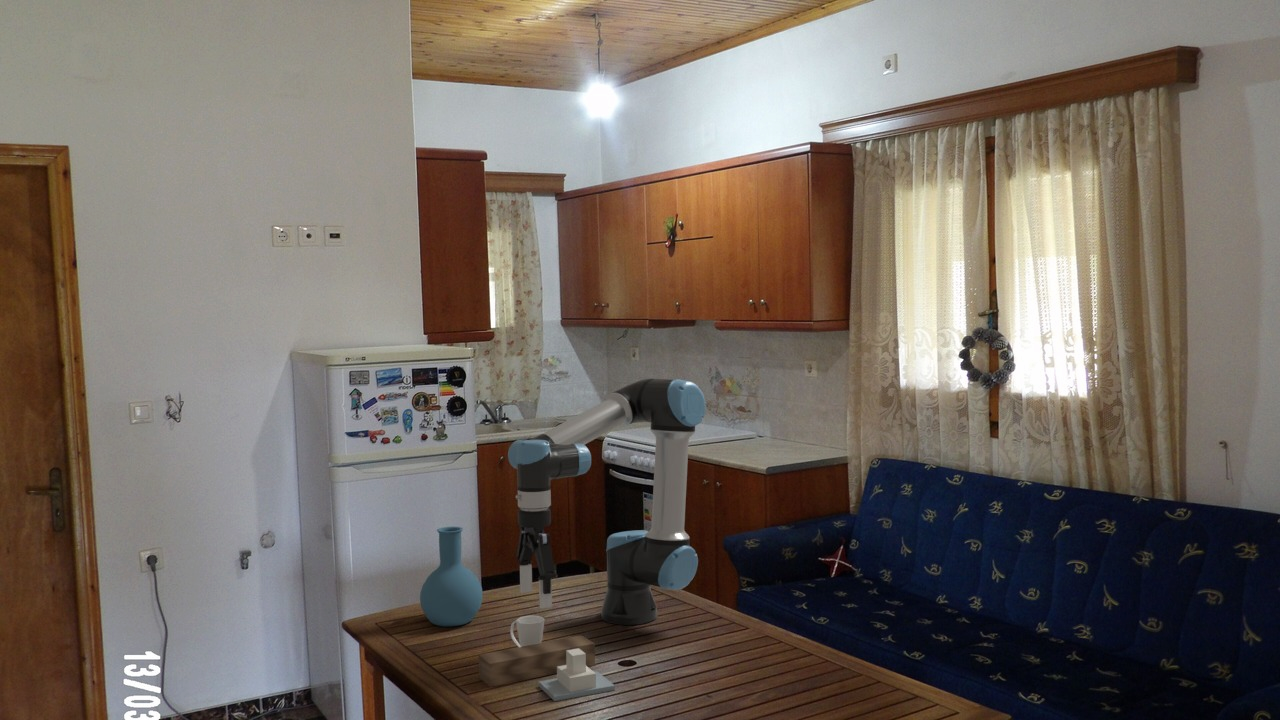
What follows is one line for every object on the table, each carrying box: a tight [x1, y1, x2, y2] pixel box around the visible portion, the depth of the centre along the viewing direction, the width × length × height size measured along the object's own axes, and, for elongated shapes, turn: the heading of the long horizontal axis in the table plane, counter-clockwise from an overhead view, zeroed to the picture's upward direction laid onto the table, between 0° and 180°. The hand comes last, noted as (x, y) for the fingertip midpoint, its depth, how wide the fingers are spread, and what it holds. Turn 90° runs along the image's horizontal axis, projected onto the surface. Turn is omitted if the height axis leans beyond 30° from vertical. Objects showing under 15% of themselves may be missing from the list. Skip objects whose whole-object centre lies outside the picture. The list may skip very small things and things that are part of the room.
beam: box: [478, 634, 596, 688], centre depth 233 cm, size 26×7×6 cm, turn 120°
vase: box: [419, 526, 483, 628], centre depth 272 cm, size 16×16×25 cm
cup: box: [509, 614, 545, 647], centre depth 247 cm, size 7×10×8 cm
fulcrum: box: [538, 648, 616, 702], centre depth 222 cm, size 14×10×8 cm
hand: (535, 599), depth 233 cm, fingers open, 13 cm apart
